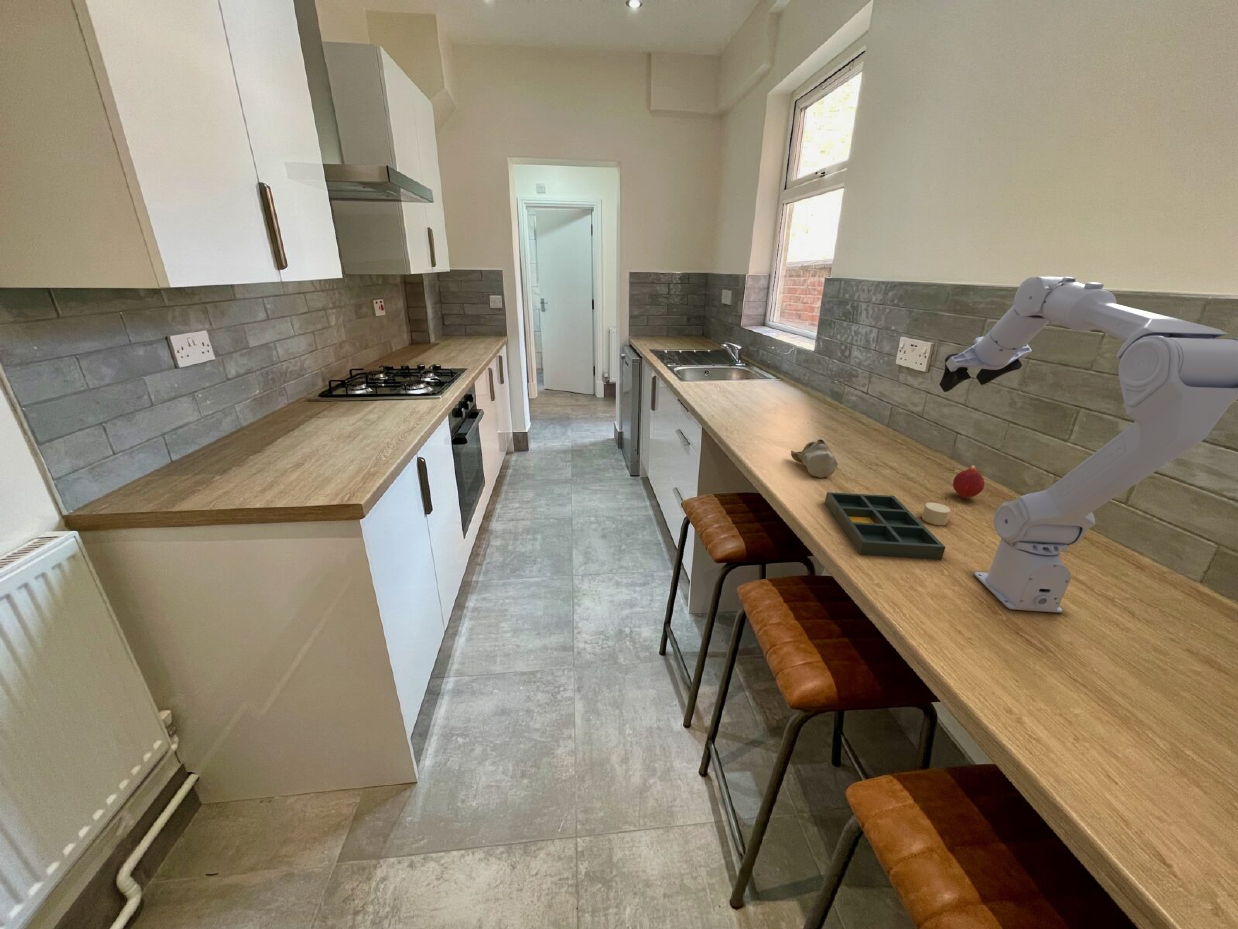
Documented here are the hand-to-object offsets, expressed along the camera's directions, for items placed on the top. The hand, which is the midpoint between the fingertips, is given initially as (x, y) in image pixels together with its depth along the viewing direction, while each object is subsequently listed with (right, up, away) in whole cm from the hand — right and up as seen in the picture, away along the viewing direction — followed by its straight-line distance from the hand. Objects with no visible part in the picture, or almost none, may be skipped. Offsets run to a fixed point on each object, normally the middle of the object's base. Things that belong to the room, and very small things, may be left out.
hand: (961, 384), depth 96 cm
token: (-1, -27, +6) cm, 28 cm away
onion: (+12, -24, +17) cm, 31 cm away
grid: (-15, -29, +3) cm, 33 cm away
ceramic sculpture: (-17, -17, +31) cm, 39 cm away
